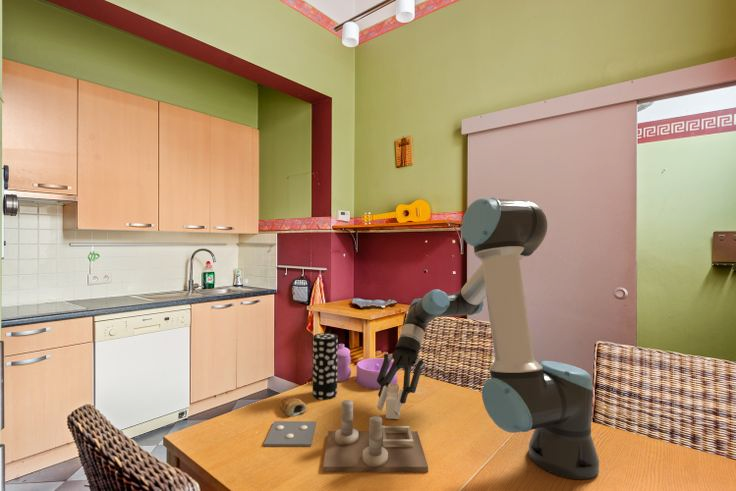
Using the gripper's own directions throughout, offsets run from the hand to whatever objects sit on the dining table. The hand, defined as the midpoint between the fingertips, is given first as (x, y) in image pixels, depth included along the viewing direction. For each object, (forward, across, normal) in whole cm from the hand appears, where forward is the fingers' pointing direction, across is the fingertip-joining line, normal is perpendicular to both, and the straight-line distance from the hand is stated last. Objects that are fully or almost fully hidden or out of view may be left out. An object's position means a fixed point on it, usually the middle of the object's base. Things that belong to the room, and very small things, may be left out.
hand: (387, 410), depth 110 cm
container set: (-15, +22, -20) cm, 33 cm away
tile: (+16, +20, +11) cm, 28 cm away
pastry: (+8, +28, +3) cm, 30 cm away
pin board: (+14, -4, +9) cm, 17 cm away
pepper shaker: (0, 0, -5) cm, 5 cm away
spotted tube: (-2, +27, -7) cm, 28 cm away
